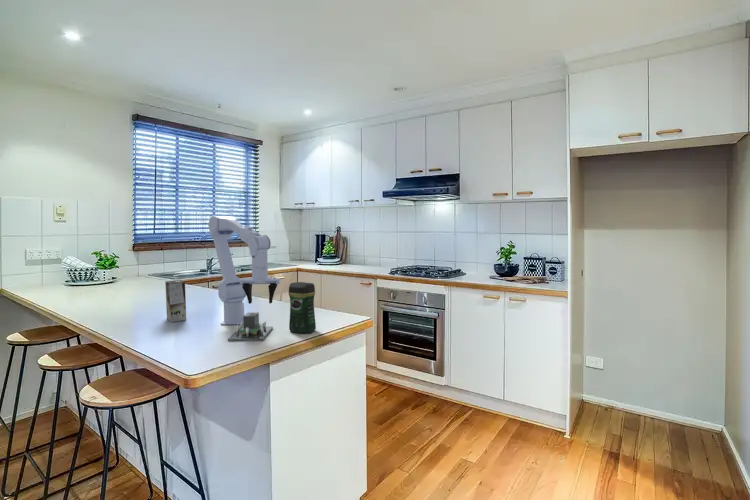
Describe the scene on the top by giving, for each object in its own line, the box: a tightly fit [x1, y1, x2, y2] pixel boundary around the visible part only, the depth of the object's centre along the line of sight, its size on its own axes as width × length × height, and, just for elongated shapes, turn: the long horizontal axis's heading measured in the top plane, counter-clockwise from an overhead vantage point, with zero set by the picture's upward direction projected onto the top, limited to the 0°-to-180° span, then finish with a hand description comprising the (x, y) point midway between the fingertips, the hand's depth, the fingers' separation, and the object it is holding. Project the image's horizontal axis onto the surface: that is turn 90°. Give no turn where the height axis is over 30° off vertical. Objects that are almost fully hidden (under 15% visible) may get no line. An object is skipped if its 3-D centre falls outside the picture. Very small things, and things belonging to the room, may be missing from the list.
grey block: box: [240, 312, 263, 333], centre depth 147 cm, size 9×6×6 cm, turn 2°
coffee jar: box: [288, 281, 317, 334], centre depth 152 cm, size 10×8×19 cm
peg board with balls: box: [227, 321, 274, 342], centre depth 148 cm, size 16×12×4 cm
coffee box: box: [165, 279, 187, 323], centre depth 171 cm, size 9×6×16 cm
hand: (260, 303), depth 153 cm, fingers open, 7 cm apart
